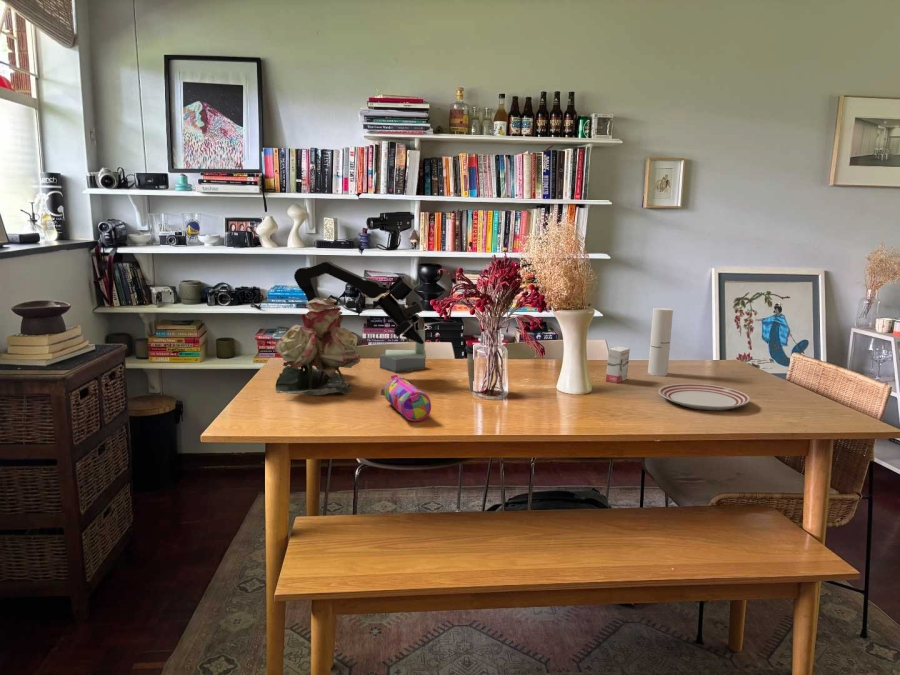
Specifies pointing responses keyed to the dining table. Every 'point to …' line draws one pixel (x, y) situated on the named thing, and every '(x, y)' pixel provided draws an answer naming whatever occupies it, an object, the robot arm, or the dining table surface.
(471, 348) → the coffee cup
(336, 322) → the rose bouquet
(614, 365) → the ink box
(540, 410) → the dining table surface
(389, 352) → the pale green stand
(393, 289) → the robot arm
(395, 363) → the parts tub
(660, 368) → the cylindrical container
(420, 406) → the pencil case
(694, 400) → the dinner plate
